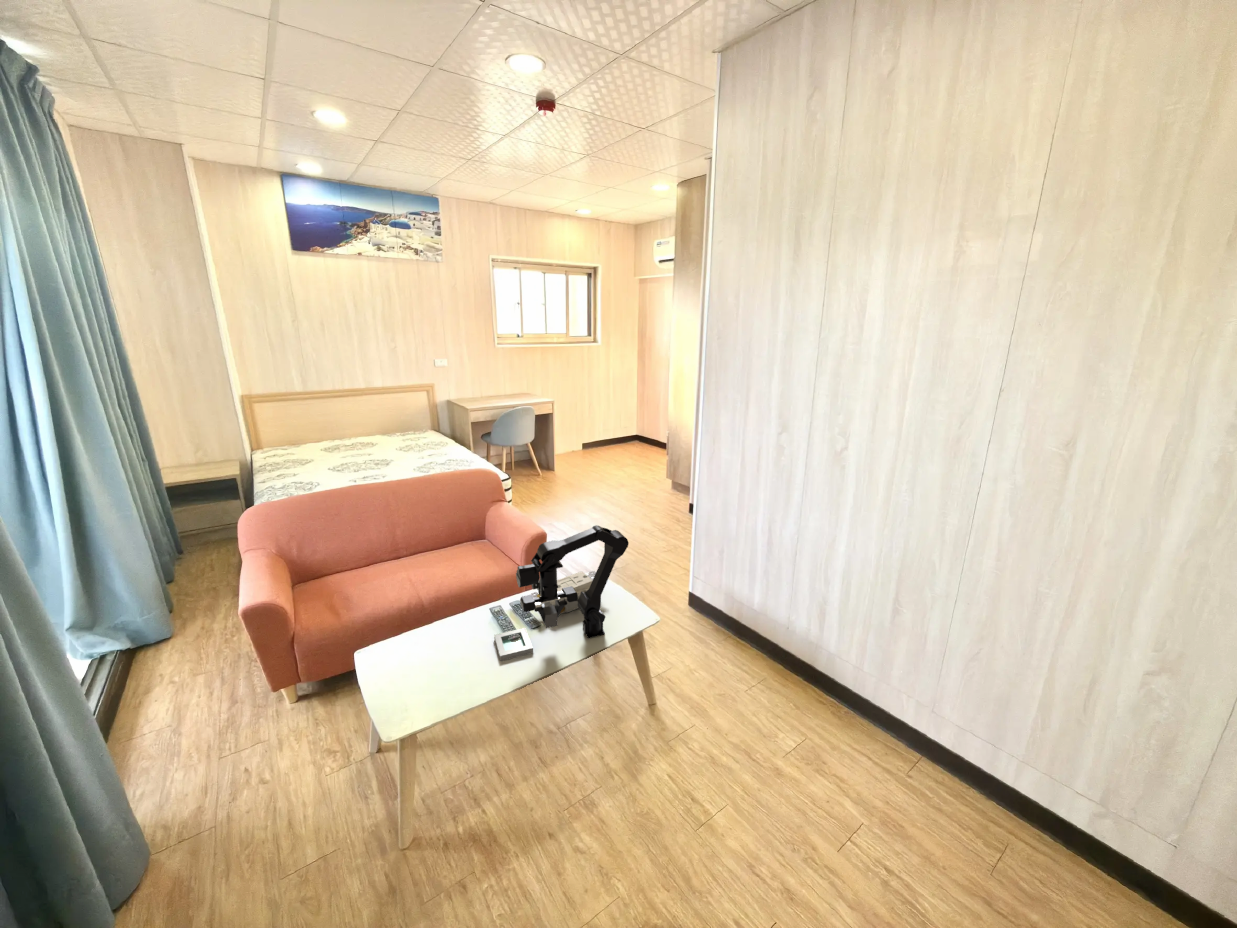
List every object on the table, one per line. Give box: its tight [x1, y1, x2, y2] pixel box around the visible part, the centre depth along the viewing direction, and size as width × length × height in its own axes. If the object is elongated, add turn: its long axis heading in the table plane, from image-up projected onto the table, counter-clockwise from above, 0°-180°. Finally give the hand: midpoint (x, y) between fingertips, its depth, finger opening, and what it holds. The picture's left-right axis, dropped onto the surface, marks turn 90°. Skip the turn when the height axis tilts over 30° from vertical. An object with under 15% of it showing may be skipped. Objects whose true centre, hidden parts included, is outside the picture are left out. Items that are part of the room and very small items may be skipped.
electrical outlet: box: [530, 570, 597, 616], centre depth 190 cm, size 12×28×10 cm, turn 122°
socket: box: [493, 627, 534, 662], centre depth 166 cm, size 11×12×2 cm
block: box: [542, 605, 558, 629], centre depth 165 cm, size 4×5×5 cm
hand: (549, 620), depth 166 cm, fingers closed on block, 4 cm apart
